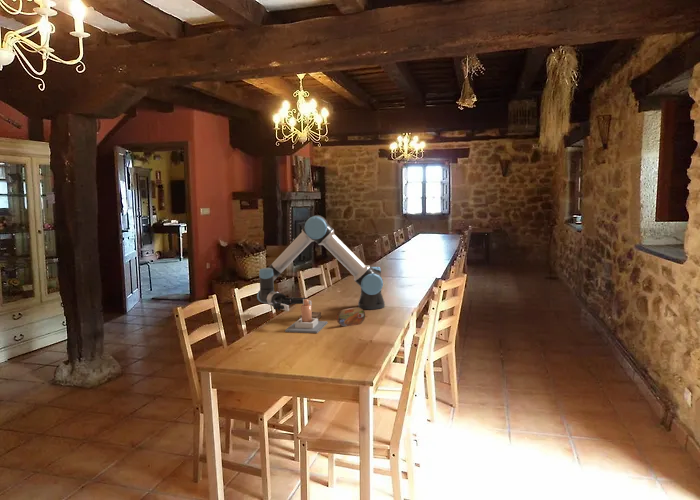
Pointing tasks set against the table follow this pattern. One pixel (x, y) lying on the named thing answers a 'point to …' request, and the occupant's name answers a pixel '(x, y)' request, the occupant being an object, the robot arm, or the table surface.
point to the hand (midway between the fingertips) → (299, 306)
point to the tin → (350, 316)
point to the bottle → (306, 311)
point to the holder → (306, 326)
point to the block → (314, 315)
